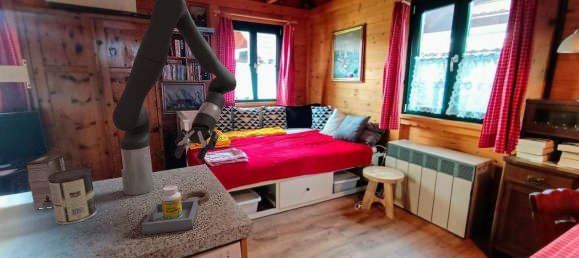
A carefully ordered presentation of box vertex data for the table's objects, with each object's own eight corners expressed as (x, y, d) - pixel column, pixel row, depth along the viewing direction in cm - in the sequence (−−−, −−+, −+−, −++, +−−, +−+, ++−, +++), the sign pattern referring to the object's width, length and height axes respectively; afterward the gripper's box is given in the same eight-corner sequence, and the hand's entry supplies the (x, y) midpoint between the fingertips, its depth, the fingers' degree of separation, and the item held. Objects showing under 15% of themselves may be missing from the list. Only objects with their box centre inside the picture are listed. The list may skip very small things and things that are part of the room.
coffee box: (50, 198, 96) (42, 155, 93) (71, 196, 97) (64, 154, 94) (34, 210, 87) (24, 163, 84) (57, 207, 89) (49, 161, 86)
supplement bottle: (180, 211, 84) (178, 182, 83) (184, 218, 80) (181, 188, 78) (161, 215, 82) (158, 186, 80) (164, 223, 77) (161, 192, 75)
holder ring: (180, 206, 89) (180, 202, 89) (185, 195, 97) (184, 191, 97) (207, 203, 91) (207, 199, 91) (209, 193, 99) (209, 189, 99)
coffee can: (82, 206, 90) (76, 166, 87) (105, 211, 86) (99, 169, 84) (47, 221, 80) (38, 177, 78) (70, 227, 77) (62, 181, 74)
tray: (142, 234, 73) (141, 224, 73) (155, 211, 86) (155, 203, 85) (192, 229, 76) (191, 219, 75) (198, 207, 88) (197, 199, 88)
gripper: (184, 111, 93) (163, 150, 85) (219, 112, 89) (200, 154, 80) (195, 123, 99) (176, 161, 91) (229, 125, 95) (212, 166, 86)
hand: (187, 158), depth 86 cm, fingers open, 8 cm apart
